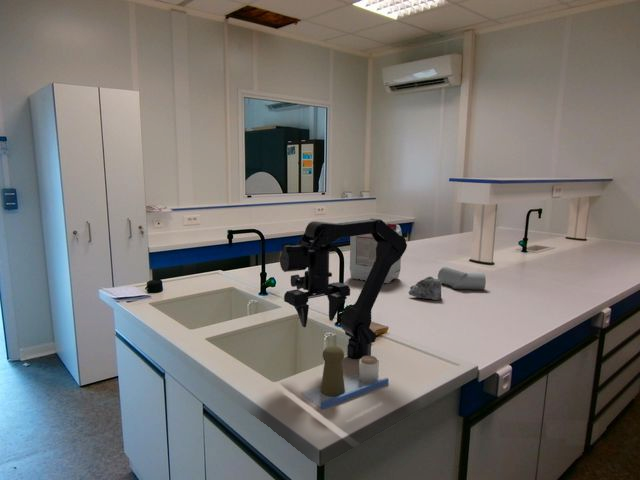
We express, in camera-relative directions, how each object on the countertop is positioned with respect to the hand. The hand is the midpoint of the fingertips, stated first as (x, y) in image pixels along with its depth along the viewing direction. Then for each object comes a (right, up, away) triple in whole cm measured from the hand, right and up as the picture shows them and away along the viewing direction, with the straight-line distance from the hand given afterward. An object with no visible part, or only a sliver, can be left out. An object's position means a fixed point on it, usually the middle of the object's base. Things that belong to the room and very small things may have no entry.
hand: (317, 323), depth 120 cm
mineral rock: (+48, -3, +74) cm, 88 cm away
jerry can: (+29, +2, +109) cm, 113 cm away
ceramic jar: (+13, -13, -7) cm, 20 cm away
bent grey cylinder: (+69, 0, +94) cm, 117 cm away
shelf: (+7, -15, -11) cm, 20 cm away
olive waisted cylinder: (+4, -14, -13) cm, 20 cm away
